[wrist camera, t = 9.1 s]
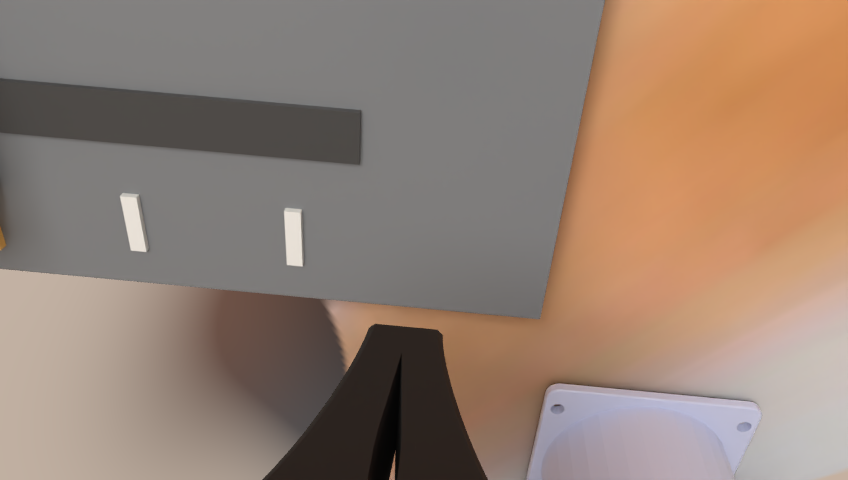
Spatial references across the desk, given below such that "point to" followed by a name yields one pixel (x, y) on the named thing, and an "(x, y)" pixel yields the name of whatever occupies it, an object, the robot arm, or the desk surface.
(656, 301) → the desk surface
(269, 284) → the board
